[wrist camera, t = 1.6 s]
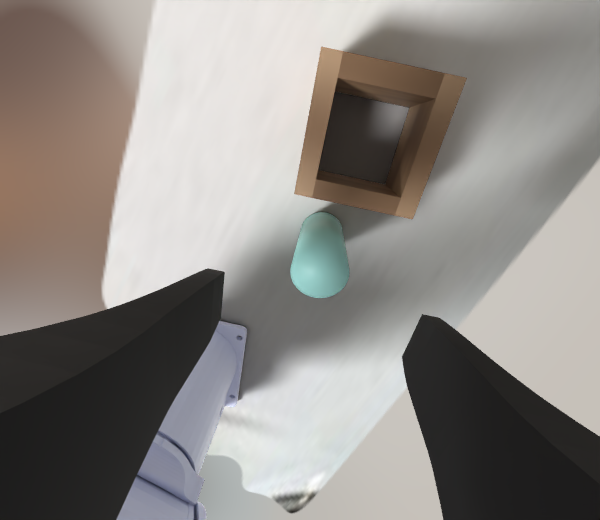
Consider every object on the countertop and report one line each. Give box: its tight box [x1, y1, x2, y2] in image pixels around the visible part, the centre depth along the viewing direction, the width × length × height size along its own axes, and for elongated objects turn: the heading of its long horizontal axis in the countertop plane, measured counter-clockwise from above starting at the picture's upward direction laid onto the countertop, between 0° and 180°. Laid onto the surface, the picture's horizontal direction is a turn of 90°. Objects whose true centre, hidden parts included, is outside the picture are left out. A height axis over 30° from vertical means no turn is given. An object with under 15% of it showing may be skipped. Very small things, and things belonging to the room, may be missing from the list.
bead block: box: [294, 47, 467, 219], centre depth 14 cm, size 6×6×4 cm
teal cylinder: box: [290, 212, 349, 298], centre depth 16 cm, size 3×3×6 cm
